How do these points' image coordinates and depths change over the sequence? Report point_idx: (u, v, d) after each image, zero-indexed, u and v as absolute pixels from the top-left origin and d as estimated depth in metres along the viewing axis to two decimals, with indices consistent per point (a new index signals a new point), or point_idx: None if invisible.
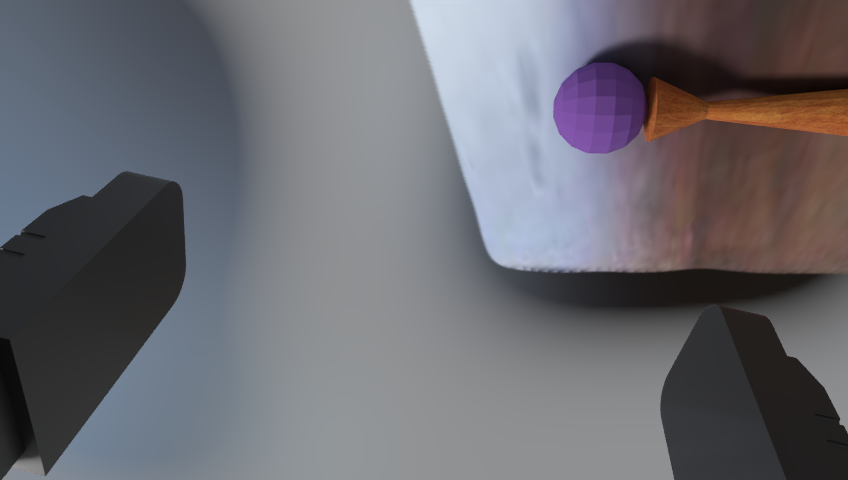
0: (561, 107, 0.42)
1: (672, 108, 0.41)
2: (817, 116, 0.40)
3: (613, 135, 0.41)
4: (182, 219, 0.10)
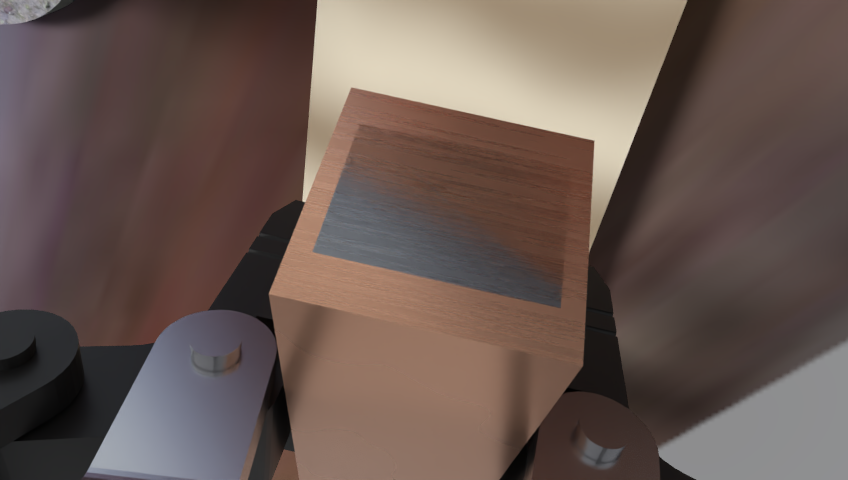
0: None
1: None
2: None
3: None
4: None
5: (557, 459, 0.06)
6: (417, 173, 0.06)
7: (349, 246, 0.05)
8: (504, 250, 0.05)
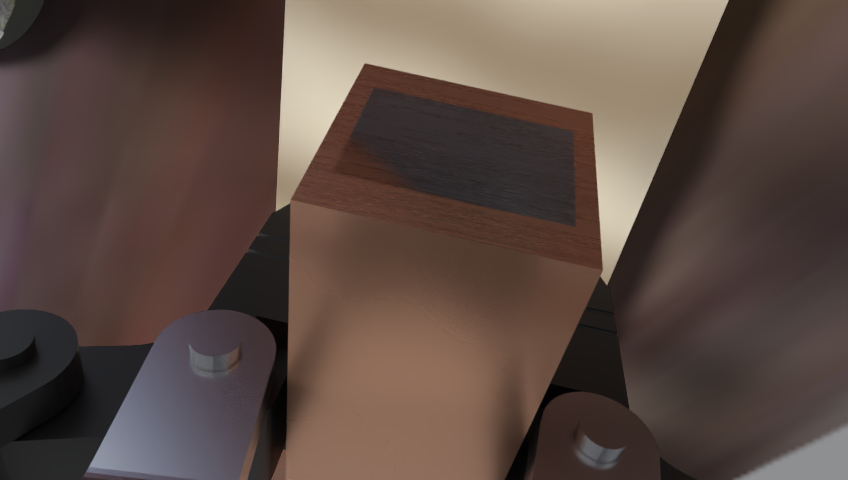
0: None
1: None
2: None
3: None
4: None
5: (558, 460, 0.06)
6: (430, 124, 0.06)
7: (368, 170, 0.05)
8: (517, 183, 0.05)
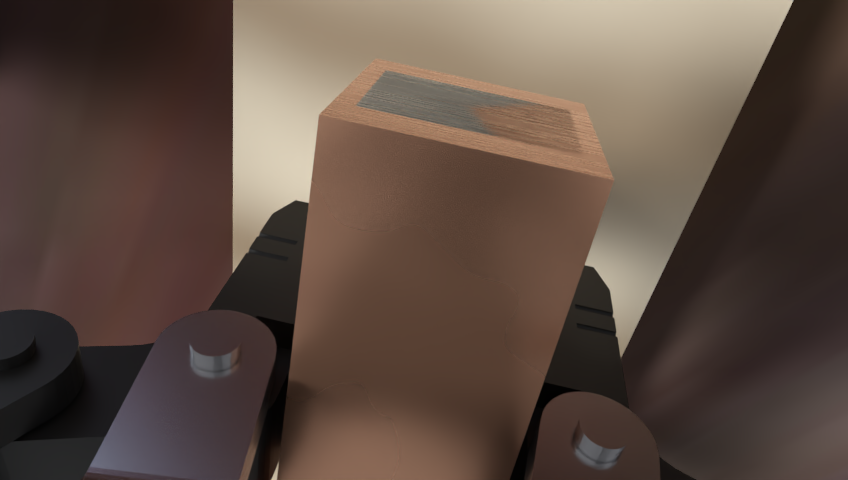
0: None
1: None
2: None
3: None
4: None
5: (558, 459, 0.06)
6: (440, 93, 0.06)
7: (388, 109, 0.06)
8: (524, 130, 0.06)
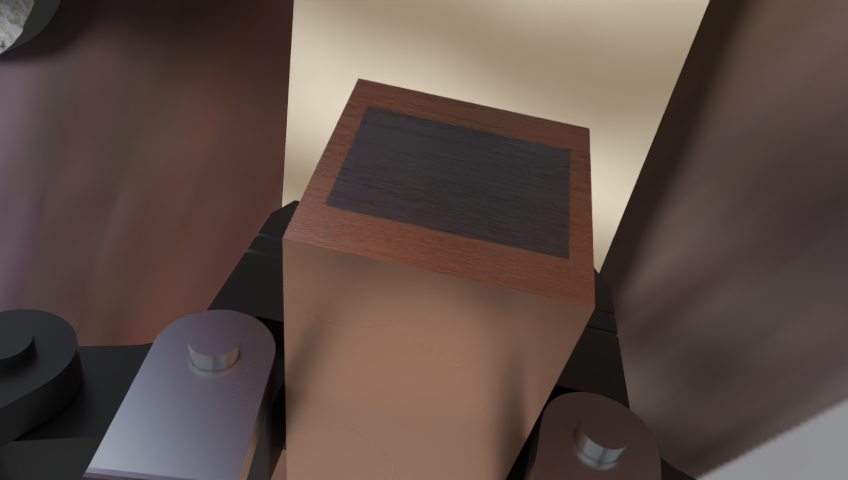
0: None
1: None
2: None
3: None
4: None
5: (558, 460, 0.06)
6: (424, 147, 0.06)
7: (361, 202, 0.05)
8: (510, 211, 0.05)
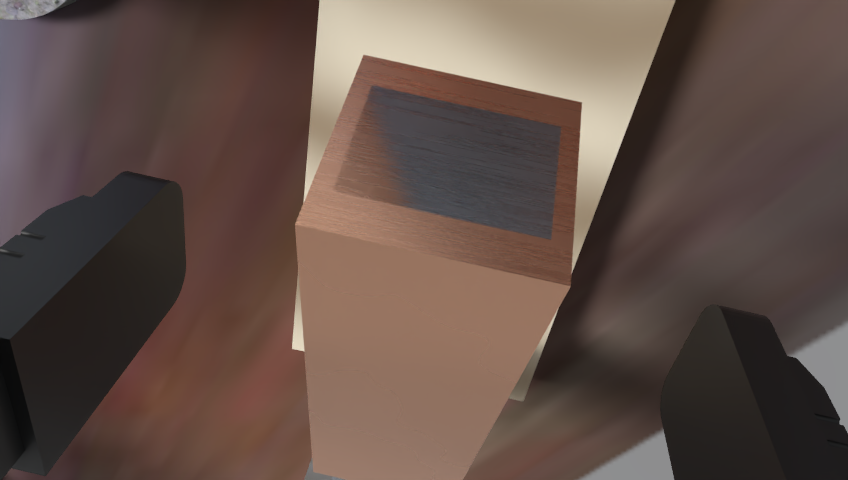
0: None
1: None
2: None
3: None
4: (182, 219, 0.10)
5: None
6: (424, 127, 0.06)
7: (365, 187, 0.06)
8: (501, 193, 0.06)
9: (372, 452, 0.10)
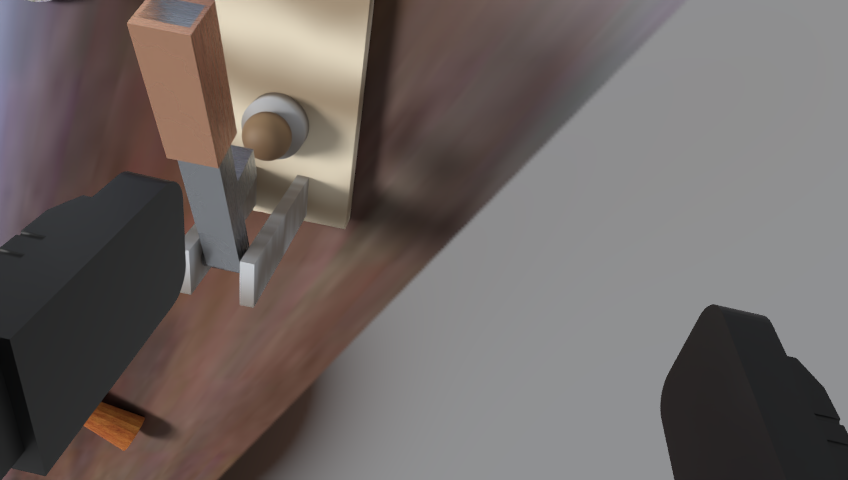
0: None
1: None
2: (91, 420, 0.58)
3: None
4: (182, 219, 0.10)
5: None
6: (166, 5, 0.24)
7: (146, 16, 0.24)
8: (181, 18, 0.24)
9: (180, 134, 0.28)
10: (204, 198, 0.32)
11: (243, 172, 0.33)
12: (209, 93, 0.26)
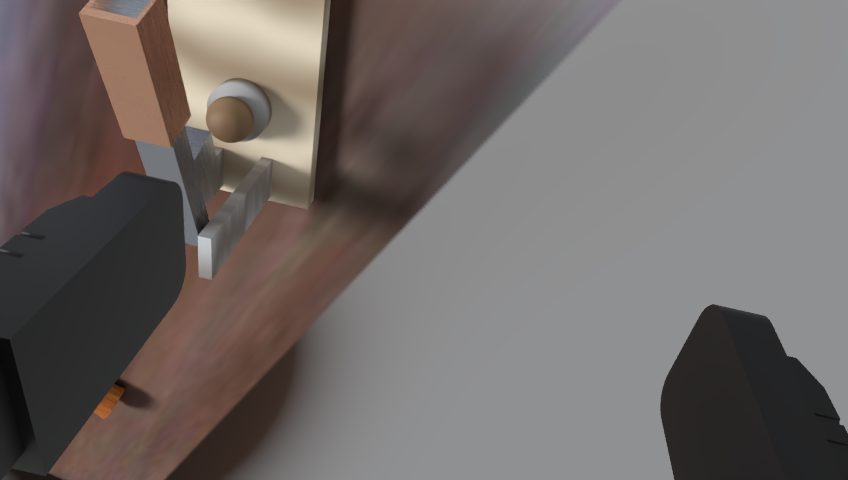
0: None
1: None
2: None
3: None
4: (182, 219, 0.10)
5: None
6: None
7: (96, 7, 0.26)
8: (129, 10, 0.26)
9: (134, 116, 0.30)
10: (162, 176, 0.34)
11: (200, 153, 0.36)
12: (158, 78, 0.29)
